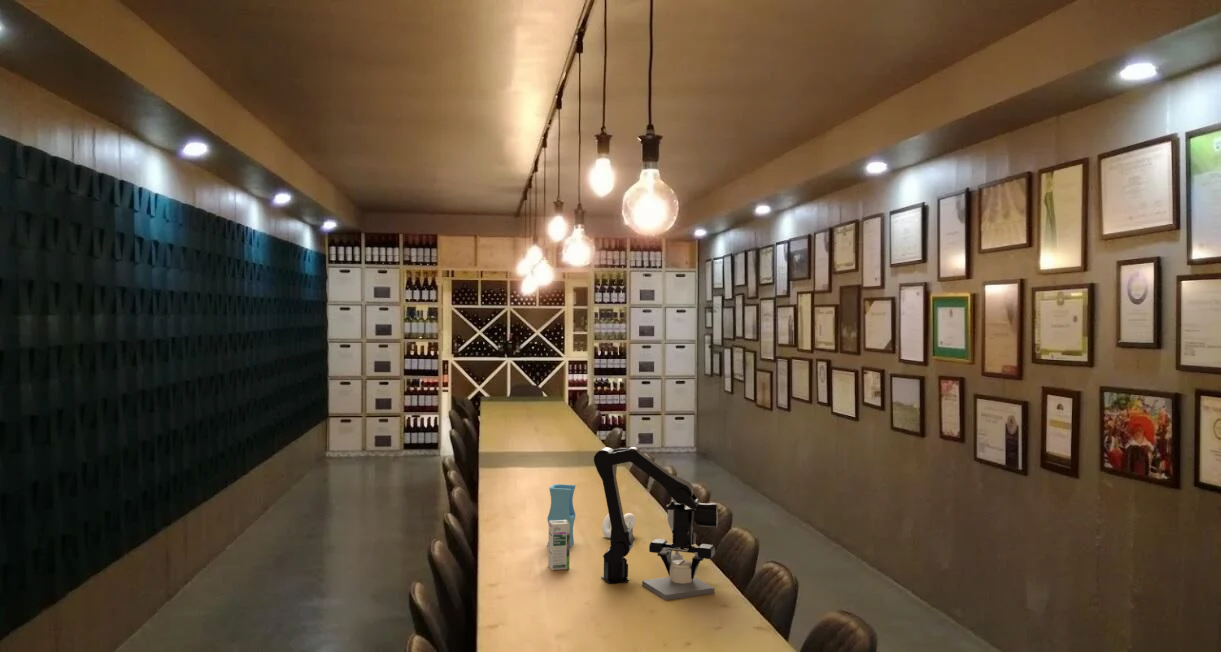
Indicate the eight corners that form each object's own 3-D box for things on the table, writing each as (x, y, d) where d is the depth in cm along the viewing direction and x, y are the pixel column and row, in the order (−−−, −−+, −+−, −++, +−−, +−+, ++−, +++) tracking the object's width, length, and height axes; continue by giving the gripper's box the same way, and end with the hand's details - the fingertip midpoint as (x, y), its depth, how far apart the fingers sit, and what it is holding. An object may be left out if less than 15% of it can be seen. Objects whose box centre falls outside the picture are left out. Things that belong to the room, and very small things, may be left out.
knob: (689, 584, 242) (689, 566, 242) (667, 581, 244) (667, 563, 244) (695, 578, 248) (695, 560, 248) (673, 575, 250) (674, 558, 250)
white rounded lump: (595, 539, 297) (595, 514, 297) (610, 531, 307) (611, 507, 307) (623, 543, 291) (623, 518, 291) (638, 536, 302) (638, 511, 302)
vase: (569, 548, 284) (570, 489, 284) (547, 546, 286) (548, 488, 286) (574, 542, 292) (575, 485, 292) (553, 540, 294) (554, 483, 294)
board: (665, 600, 232) (665, 582, 232) (642, 585, 245) (642, 568, 245) (714, 593, 239) (714, 575, 239) (689, 579, 252) (689, 562, 252)
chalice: (669, 564, 266) (670, 508, 266) (662, 558, 273) (663, 504, 273) (690, 563, 268) (691, 507, 268) (683, 557, 275) (684, 503, 275)
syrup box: (551, 570, 258) (552, 524, 258) (547, 565, 264) (548, 519, 264) (569, 569, 260) (570, 523, 260) (565, 564, 265) (566, 518, 265)
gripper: (719, 522, 250) (718, 573, 251) (659, 516, 257) (659, 566, 257) (711, 530, 240) (710, 584, 240) (649, 524, 246) (648, 576, 246)
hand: (681, 577), depth 246 cm, fingers closed on knob, 6 cm apart
